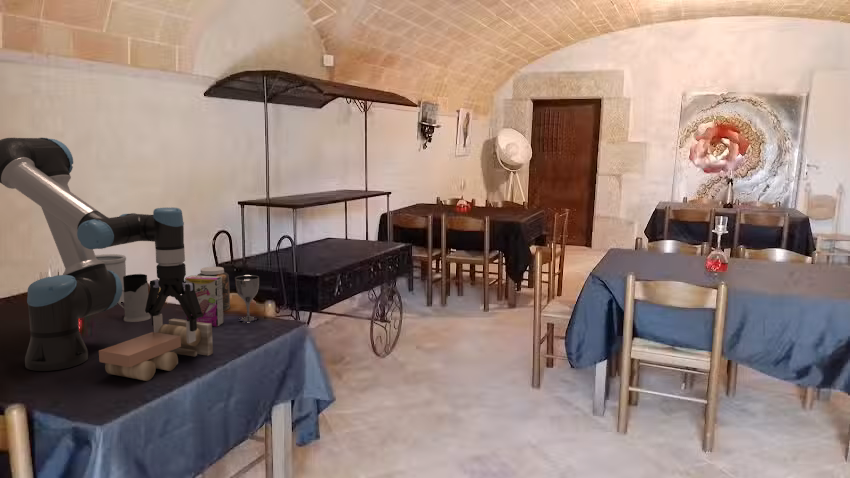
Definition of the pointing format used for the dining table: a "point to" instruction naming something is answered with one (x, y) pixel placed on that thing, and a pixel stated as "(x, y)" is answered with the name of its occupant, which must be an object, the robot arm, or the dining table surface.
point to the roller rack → (166, 355)
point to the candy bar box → (208, 298)
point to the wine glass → (247, 290)
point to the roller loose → (180, 333)
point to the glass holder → (135, 298)
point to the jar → (225, 282)
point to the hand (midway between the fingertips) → (175, 339)
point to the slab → (139, 349)
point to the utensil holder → (115, 266)
